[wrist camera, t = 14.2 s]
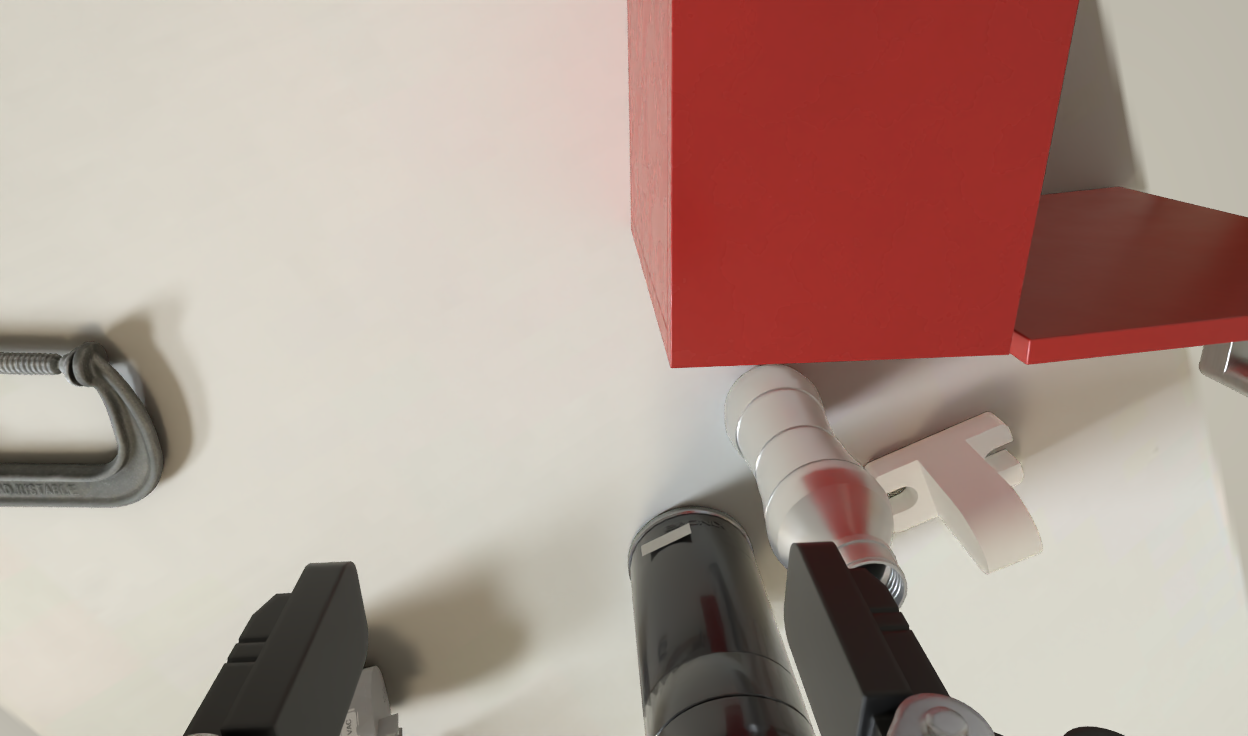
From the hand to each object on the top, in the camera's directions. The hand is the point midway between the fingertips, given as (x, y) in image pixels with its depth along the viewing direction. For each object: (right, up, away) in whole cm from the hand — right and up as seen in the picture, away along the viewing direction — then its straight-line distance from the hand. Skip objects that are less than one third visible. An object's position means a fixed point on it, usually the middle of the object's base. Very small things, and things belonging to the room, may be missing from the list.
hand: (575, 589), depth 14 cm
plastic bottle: (+11, +2, +37) cm, 39 cm away
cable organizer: (+24, -3, +40) cm, 47 cm away
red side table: (+23, +11, +34) cm, 42 cm away
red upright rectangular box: (+7, +21, +29) cm, 36 cm away
